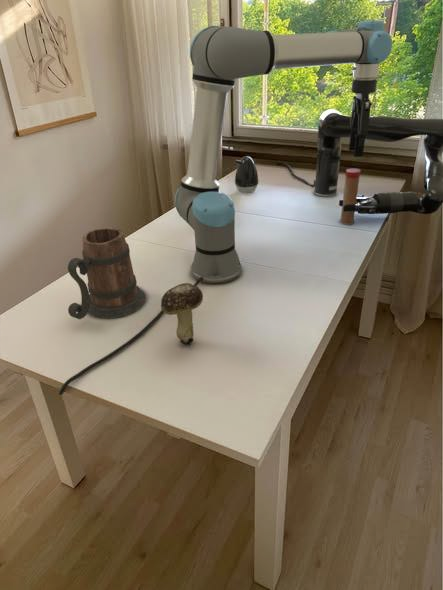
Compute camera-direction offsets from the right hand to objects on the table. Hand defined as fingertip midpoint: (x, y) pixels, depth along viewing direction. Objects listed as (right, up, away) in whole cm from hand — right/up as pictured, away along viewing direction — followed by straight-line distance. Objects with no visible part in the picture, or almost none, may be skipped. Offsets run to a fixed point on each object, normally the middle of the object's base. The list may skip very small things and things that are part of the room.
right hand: (341, 205), depth 160 cm
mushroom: (-52, -44, -53) cm, 86 cm away
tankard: (-75, -36, -39) cm, 92 cm away
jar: (+3, -5, +4) cm, 7 cm away
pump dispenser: (-32, +13, +35) cm, 49 cm away
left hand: (+2, +16, -10) cm, 19 cm away
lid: (+2, +11, -7) cm, 13 cm away
